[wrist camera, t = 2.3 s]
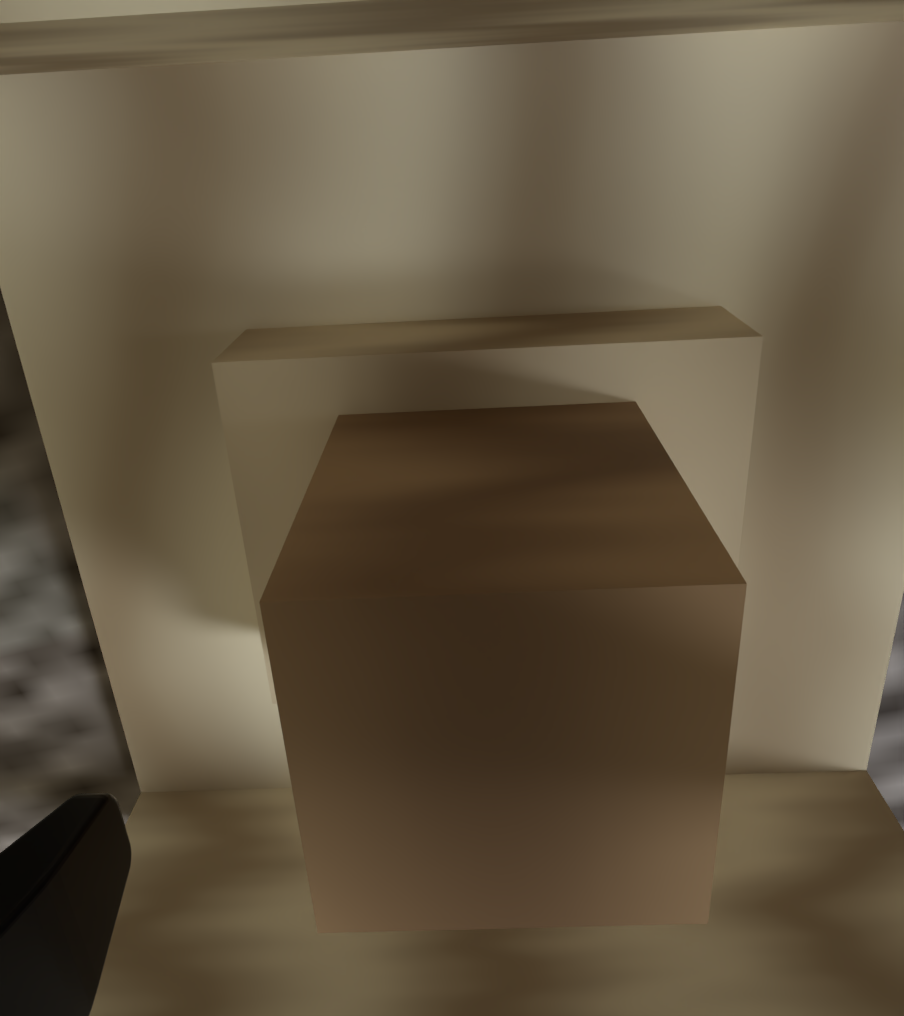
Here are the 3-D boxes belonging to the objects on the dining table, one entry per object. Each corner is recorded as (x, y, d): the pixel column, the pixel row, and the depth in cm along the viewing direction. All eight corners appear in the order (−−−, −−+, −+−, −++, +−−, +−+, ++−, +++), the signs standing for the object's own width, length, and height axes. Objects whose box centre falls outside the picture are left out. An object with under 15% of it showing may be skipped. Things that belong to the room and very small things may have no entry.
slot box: (1024, -98, 13) (1535, -294, 7) (846, 801, 21) (1006, 1087, 15) (-68, -27, 14) (-512, -150, 8) (161, 821, 22) (39, 1103, 16)
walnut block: (636, 401, 14) (747, 583, 8) (624, 650, 16) (708, 923, 11) (338, 415, 14) (260, 601, 9) (366, 658, 16) (318, 933, 11)
